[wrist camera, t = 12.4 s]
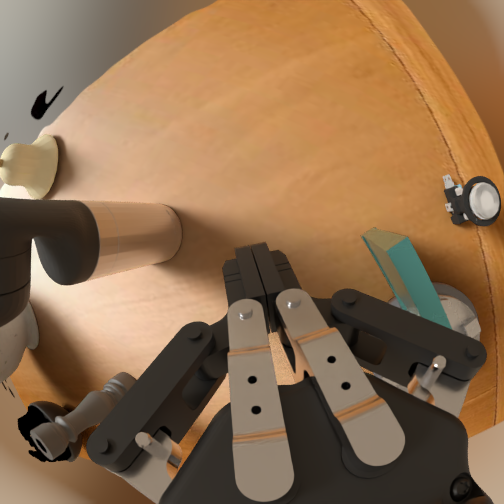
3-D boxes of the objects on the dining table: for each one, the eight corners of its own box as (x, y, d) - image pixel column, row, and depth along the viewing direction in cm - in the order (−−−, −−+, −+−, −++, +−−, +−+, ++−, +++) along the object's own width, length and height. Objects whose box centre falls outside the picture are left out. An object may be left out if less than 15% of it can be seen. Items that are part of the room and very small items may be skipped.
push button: (428, 182, 32) (455, 171, 23) (458, 170, 31) (490, 157, 21) (445, 230, 32) (476, 233, 23) (474, 216, 31) (510, 216, 21)
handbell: (71, 151, 49) (-29, 137, 26) (48, 212, 53) (-46, 216, 30) (47, 126, 52) (-36, 111, 28) (26, 180, 56) (-53, 178, 32)
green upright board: (484, 355, 29) (542, 427, 12) (399, 408, 34) (416, 504, 16) (414, 199, 31) (482, 180, 13) (316, 264, 36) (293, 308, 18)
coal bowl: (66, 386, 60) (16, 413, 42) (106, 446, 59) (64, 480, 41) (44, 394, 66) (3, 416, 48) (77, 445, 65) (41, 472, 47)
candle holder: (127, 368, 50) (33, 427, 27) (145, 393, 50) (58, 461, 26) (112, 376, 52) (26, 431, 28) (129, 400, 52) (48, 461, 28)
